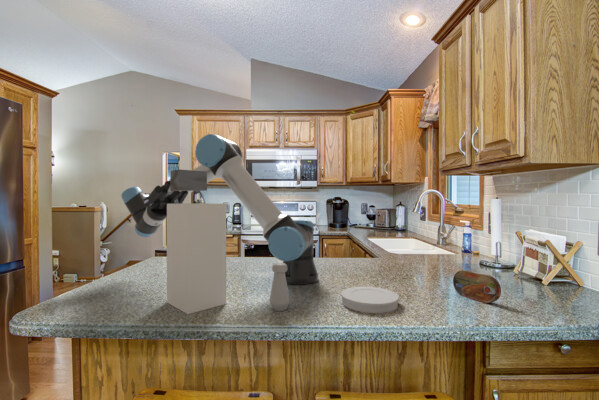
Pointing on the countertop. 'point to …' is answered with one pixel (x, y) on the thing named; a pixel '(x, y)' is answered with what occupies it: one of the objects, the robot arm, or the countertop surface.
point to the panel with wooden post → (188, 180)
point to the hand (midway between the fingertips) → (181, 177)
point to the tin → (477, 286)
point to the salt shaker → (279, 288)
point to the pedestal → (196, 256)
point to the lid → (370, 299)
